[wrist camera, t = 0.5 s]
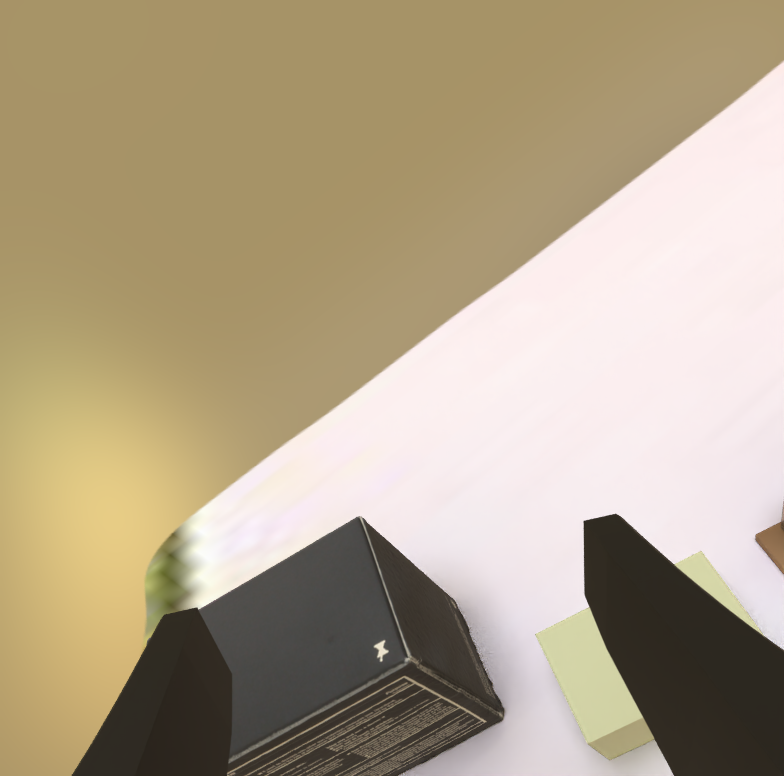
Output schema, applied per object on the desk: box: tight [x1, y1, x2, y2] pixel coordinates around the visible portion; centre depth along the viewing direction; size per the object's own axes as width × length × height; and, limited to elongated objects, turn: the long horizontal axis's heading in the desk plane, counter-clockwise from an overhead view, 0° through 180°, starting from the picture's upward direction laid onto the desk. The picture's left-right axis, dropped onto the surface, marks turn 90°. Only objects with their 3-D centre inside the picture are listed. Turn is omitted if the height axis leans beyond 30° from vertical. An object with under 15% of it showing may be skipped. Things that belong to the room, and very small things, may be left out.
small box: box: [147, 516, 504, 776], centre depth 26 cm, size 11×6×10 cm, turn 111°
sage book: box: [535, 551, 764, 760], centre depth 24 cm, size 4×7×5 cm, turn 109°
